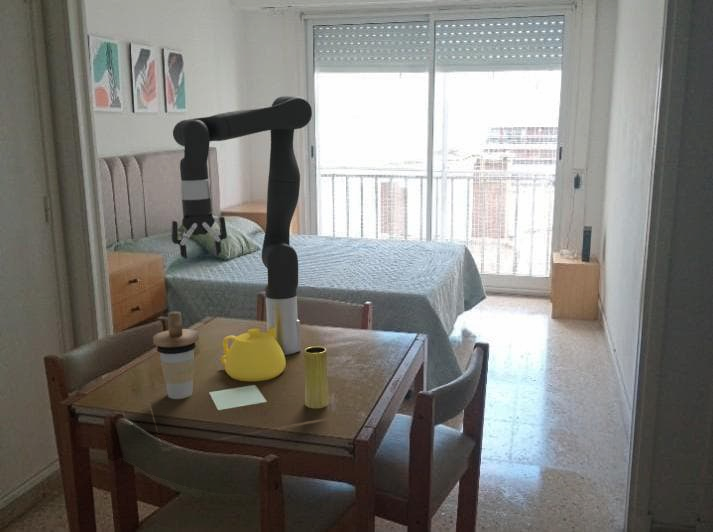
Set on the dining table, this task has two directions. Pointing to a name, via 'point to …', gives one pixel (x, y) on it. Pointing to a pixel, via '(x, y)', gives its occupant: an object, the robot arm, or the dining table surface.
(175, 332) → the lid
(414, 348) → the dining table surface
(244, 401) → the mat
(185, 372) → the coffee cup
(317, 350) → the vase
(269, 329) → the teapot
